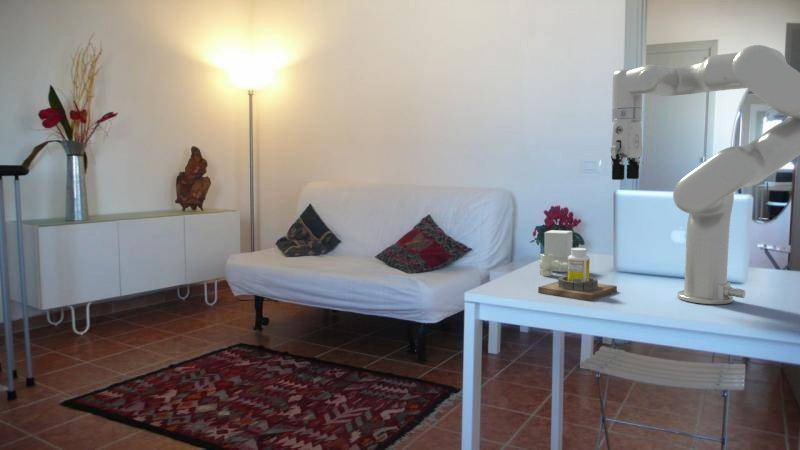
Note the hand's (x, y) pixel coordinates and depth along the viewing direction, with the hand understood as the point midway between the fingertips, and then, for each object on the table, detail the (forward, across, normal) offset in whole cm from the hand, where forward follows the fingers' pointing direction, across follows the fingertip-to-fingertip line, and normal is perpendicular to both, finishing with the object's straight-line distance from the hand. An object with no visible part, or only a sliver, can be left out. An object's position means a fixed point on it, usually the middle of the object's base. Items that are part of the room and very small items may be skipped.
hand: (625, 179), depth 168 cm
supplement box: (+30, +13, +27) cm, 42 cm away
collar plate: (+30, -14, +7) cm, 34 cm away
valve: (+30, +4, +22) cm, 38 cm away
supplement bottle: (+29, -14, +6) cm, 33 cm away
